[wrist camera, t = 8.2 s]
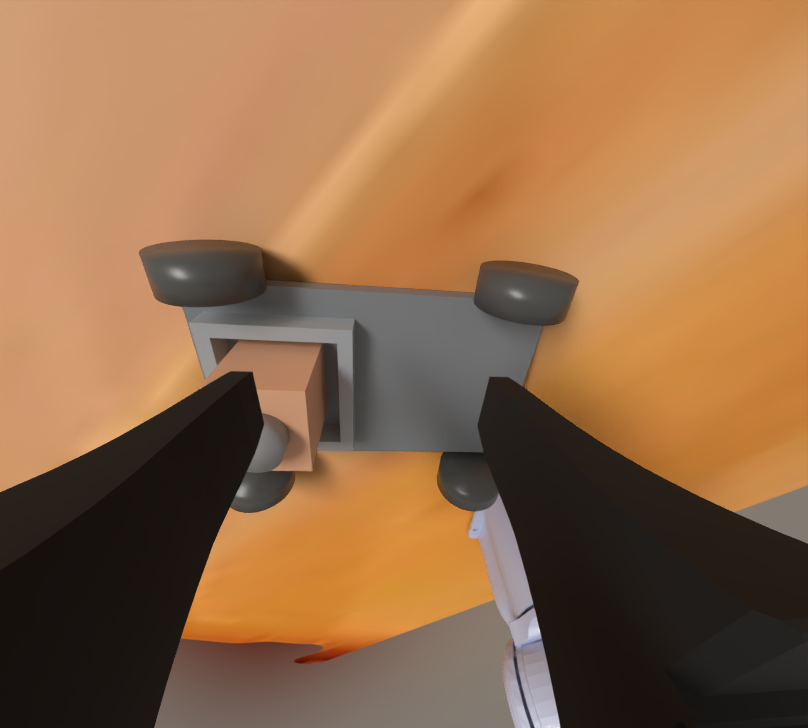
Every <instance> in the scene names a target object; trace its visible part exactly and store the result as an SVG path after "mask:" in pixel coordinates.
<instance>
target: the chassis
mask: <svg viewBox="0 0 808 728" xmlns="http://www.w3.org/2000/svg"><path fill="white" fill-rule="evenodd" d="M139 254H140V257H141V260H142V263H143V266H144V269H145V272H146V275H147V277H148V280H149V283H150V286H151V289H152V292H153V295H154V297H155V299H156V300H158V301H160V302H162V303H165V304H168V305H173V306H180V307H183V310H184V313H185V317H186V320H187V323H188V326H189V330H190V333H191V336H192V340H193V343H194V346H195V349H196V353H197V356H198V359H199V363H200V366H201V369H202V372H203V376H204V379H206V378H207V377H208V376H209V375H210V373H211V372H212V371H213V370H214V369H215V368H216V367H217V365H218V364H219V363H220V362H221V361H222V360H223V358H224V357H225V356H226V355H227V354H228V353H229V352H230V350H231V349H232V348H233V347H234V346H235V345H236V343H237V342H238V341H239V340H240V339H245V340H268V341H291V342H313V343H324V360H325V381H326V402H327V411H326V415H325V420H324V424H323V428H322V432H321V436H320V441H319V445H318V449H317V450H321V451H417V452H443V454H442V456H441V460H440V465H439V470H438V474H437V484H438V487H439V490H440V492H441V493H442V495H443V496H444V497H445V498H446V499H447V500H448V501H449V502H450V503H451V504H453V505H455V506H456V507H458V508H461V509H464V510H467V511H482V510H485V509H488V508H489V507H491V506H492V505H493V504H494V503H495V501H496V500H497V497H498V494H499V492H498V489H497V487H496V484H495V482H494V479H493V477H492V474H491V471H490V469H489V466H488V463H487V461H486V458H485V455H484V452H483V448H482V444H481V440H480V436H479V431H478V427H477V425H478V421H479V417H480V413H481V409H482V405H483V401H484V397H485V393H486V389H487V385H488V381H489V377H509V378H511V379H512V380H514V381H515V382H517V383H518V384H520V385H521V386H522V387H523V384H524V381H525V378H526V375H527V372H528V369H529V366H530V363H531V360H532V357H533V355H534V352H535V349H536V346H537V343H538V340H539V337H540V334H541V331H542V328H543V326H546V325H555V324H559V323H561V322H563V321H564V320H565V317H566V315H567V312H568V309H569V307H570V304H571V302H572V299H573V296H574V294H575V291H576V288H577V286H578V283H579V280H578V279H577V278H576V277H574V276H572V275H570V274H568V273H566V272H563V271H560V270H557V269H554V268H550V267H546V266H541V265H536V264H531V263H524V262H515V261H489V262H485V263H482V264H481V266H480V271H479V276H478V281H477V285H476V290H475V293H472V292H455V291H439V290H423V289H407V288H391V287H375V286H358V285H342V284H326V283H310V282H294V281H278V280H265V273H264V267H263V260H262V253H261V249H260V248H259V247H258V246H256V245H253V244H249V243H244V242H237V241H226V240H185V241H174V242H166V243H160V244H155V245H151V246H148V247H145V248H143V249H141V250H140V251H139ZM294 481H295V472H294V471H268V472H263V473H252V472H246V474H245V477H244V479H243V481H242V483H241V485H240V487H239V489H238V491H237V493H236V495H235V498H234V500H233V502H232V504H231V506H230V507H231V508H232V509H234V510H236V511H239V512H244V513H253V512H259V511H263V510H266V509H268V508H270V507H272V506H274V505H276V504H277V503H279V502H280V501H282V500H283V499H284V498H285V497H286V496H287V495H288V493H289V492H290V491H291V489H292V487H293V484H294Z"/></svg>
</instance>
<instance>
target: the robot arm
mask: <svg viewBox="0 0 808 728" xmlns="http://www.w3.org/2000/svg"><path fill="white" fill-rule="evenodd" d="M263 427H264V420H263V416H262V411H261V407H260V403H259V398H258V394H257V389H256V385H255V380H254V376H253V372H248V371H230V372H228V373H226V374H225V375H223V376H221V377H219V378H217V379H216V380H214V381H212V382H211V383H209V384H207V385H206V386H204V387H203V388H201V389H199V390H198V391H196V392H194V393H193V394H191V395H190V396H188V397H186V398H185V399H183V400H181V401H180V402H178V403H176V404H175V405H173V406H172V407H170V408H168V409H167V410H165V411H163V412H162V413H160V414H158V415H156V416H155V417H153V418H151V419H149V420H147V421H146V422H144V423H142V424H140V425H139V426H137V427H135V428H133V429H132V430H130V431H128V432H126V433H124V434H123V435H121V436H119V437H117V438H115V439H113V440H112V441H110V442H108V443H106V444H104V445H102V446H100V447H98V448H96V449H94V450H92V451H90V452H88V453H86V454H84V455H82V456H80V457H78V458H76V459H74V460H72V461H70V462H68V463H65V464H63V465H61V466H59V467H57V468H55V469H53V470H51V471H48V472H46V473H44V474H42V475H39V476H37V477H35V478H32V479H30V480H28V481H25V482H23V483H21V484H18V485H16V486H14V487H12V488H9V489H7V490H5V491H2V492H0V728H154V726H155V722H156V719H157V715H158V712H159V708H160V705H161V701H162V698H163V694H164V691H165V687H166V684H167V680H168V677H169V674H170V671H171V668H172V664H173V661H174V658H175V655H176V651H177V648H178V645H179V642H180V639H181V635H182V632H183V629H184V626H185V623H186V620H187V617H188V614H189V611H190V608H191V605H192V602H193V599H194V596H195V593H196V590H197V587H198V584H199V582H200V579H201V576H202V573H203V571H204V568H205V565H206V562H207V560H208V557H209V554H210V551H211V549H212V546H213V543H214V541H215V539H216V536H217V534H218V532H219V529H220V527H221V525H222V523H223V521H224V519H225V516H226V514H227V512H228V510H229V508H230V506H231V504H232V502H233V500H234V498H235V495H236V493H237V491H238V489H239V487H240V485H241V483H242V481H243V479H244V477H245V474H246V472H247V470H248V468H249V466H250V464H251V462H252V459H253V457H254V455H255V452H256V449H257V446H258V443H259V440H260V437H261V433H262V430H263ZM477 427H478V431H479V436H480V440H481V444H482V448H483V452H484V455H485V458H486V461H487V463H488V466H489V469H490V471H491V474H492V477H493V479H494V482H495V484H496V487H497V489H498V492H499V494H498V497H497V500H496V501H495V503H494V504H493V505H492V506H491V507H489V508H488V509H485V510H482V511H475V512H474V515H473V519H472V522H471V525H470V528H469V531H468V536H469V537H470V538H479V542H480V545H481V549H482V553H483V557H484V560H485V564H486V568H487V572H488V575H489V579H490V583H491V587H492V591H493V594H494V598H495V602H496V605H497V607H498V610H499V612H500V614H501V615H502V617H503V618H504V620H505V621H506V622H507V624H508V625H509V626H510V630H511V633H512V637H513V639H510V640H508V641H507V643H506V646H505V653H504V656H503V678H504V684H505V689H506V695H507V699H508V704H509V707H510V711H511V714H512V718H513V721H514V725H515V728H808V544H807V543H805V542H802V541H800V540H797V539H795V538H792V537H790V536H787V535H784V534H782V533H779V532H777V531H775V530H773V529H770V528H768V527H765V526H763V525H761V524H759V523H756V522H754V521H752V520H749V519H747V518H745V517H743V516H741V515H738V514H736V513H734V512H732V511H729V510H727V509H725V508H723V507H721V506H719V505H716V504H714V503H712V502H710V501H708V500H706V499H704V498H702V497H699V496H697V495H695V494H693V493H691V492H689V491H687V490H685V489H684V488H682V487H680V486H678V485H676V484H674V483H672V482H670V481H668V480H666V479H664V478H662V477H660V476H658V475H656V474H654V473H653V472H651V471H649V470H647V469H645V468H643V467H642V466H640V465H638V464H636V463H635V462H633V461H631V460H629V459H628V458H626V457H624V456H623V455H621V454H619V453H617V452H616V451H614V450H612V449H611V448H609V447H608V446H606V445H604V444H603V443H601V442H600V441H598V440H597V439H595V438H594V437H592V436H591V435H589V434H588V433H586V432H585V431H583V430H581V429H580V428H578V427H577V426H576V425H574V424H573V423H571V422H570V421H568V420H567V419H566V418H564V417H563V416H561V415H560V414H559V413H557V412H556V411H555V410H553V409H552V408H551V407H549V406H548V405H546V404H545V403H544V402H542V401H541V400H540V399H538V398H537V397H536V396H534V395H533V394H532V393H530V392H529V391H528V390H526V389H525V388H524V387H522V386H521V385H520V384H518V383H517V382H515V381H514V380H512V379H511V378H509V377H489V381H488V385H487V389H486V393H485V397H484V401H483V405H482V409H481V413H480V417H479V421H478V425H477Z"/></svg>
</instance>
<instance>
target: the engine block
mask: <svg viewBox="0 0 808 728" xmlns="http://www.w3.org/2000/svg"><path fill="white" fill-rule="evenodd" d="M230 371H248V372H253V376H254V380H255V385H256V389H257V394H258V398H259V403H260V407H261V411H262V416H263V420H264V427H263V430H262V433H261V437H260V440H259V443H258V446H257V449H256V452H255V455H254V457H253V459H252V462H251V464H250V466H249V468H248V470H247V472H252V473H263V472H268V471H312V470H313V466H314V462H315V458H316V453H317V449H318V445H319V441H320V436H321V432H322V428H323V424H324V420H325V415H326V411H327V402H326V381H325V360H324V343H313V342H291V341H268V340H245V339H240V340H239V341H238V342H237V343H236V345H235V346H234V347H233V348H232V349H231V350H230V352H229V353H228V354H227V355H226V356H225V357H224V358H223V360H222V361H221V362H220V363H219V364H218V365H217V367H216V368H215V369H214V370H213V371H212V372H211V373H210V375H209V376H208V377H207V378H206V379H205V380H204V382H203V383H202V384H201V385H200V386H199V389H201V388H203V387H204V386H206V385H207V384H209V383H211V382H212V381H214V380H216V379H217V378H219V377H221V376H223V375H225V374H226V373H228V372H230Z"/></svg>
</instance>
